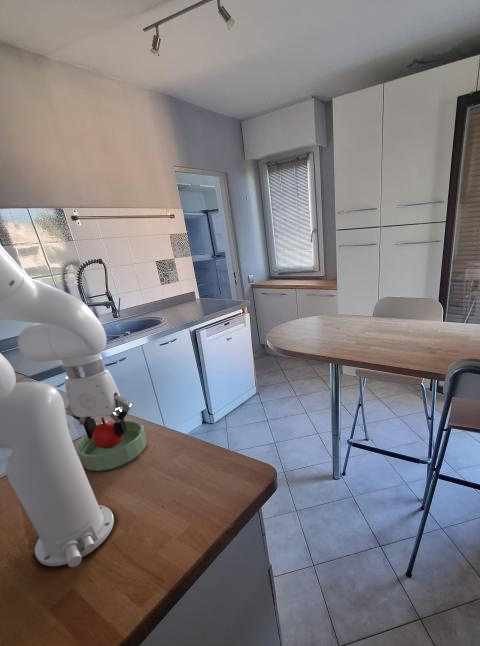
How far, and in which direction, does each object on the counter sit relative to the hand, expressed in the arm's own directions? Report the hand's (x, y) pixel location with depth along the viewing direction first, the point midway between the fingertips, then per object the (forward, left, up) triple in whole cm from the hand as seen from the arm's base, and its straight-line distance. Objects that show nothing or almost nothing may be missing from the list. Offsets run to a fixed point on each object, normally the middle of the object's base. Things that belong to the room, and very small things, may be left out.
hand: (107, 434), depth 83 cm
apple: (0, 0, -4) cm, 4 cm away
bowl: (+1, 0, -6) cm, 6 cm away
